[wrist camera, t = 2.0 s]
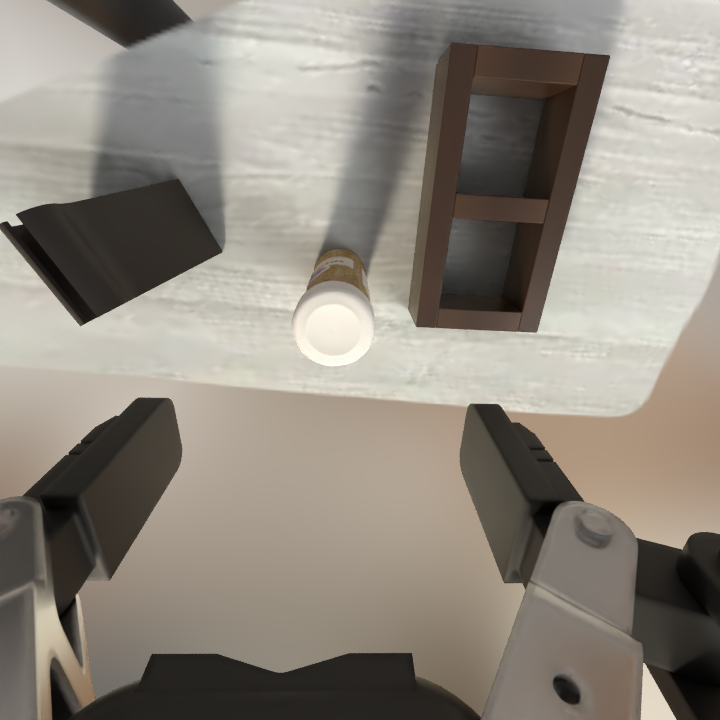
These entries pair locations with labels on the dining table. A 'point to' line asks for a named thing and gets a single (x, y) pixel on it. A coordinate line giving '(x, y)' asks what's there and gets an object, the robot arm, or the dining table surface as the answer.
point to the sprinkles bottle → (335, 311)
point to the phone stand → (112, 245)
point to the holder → (532, 212)
